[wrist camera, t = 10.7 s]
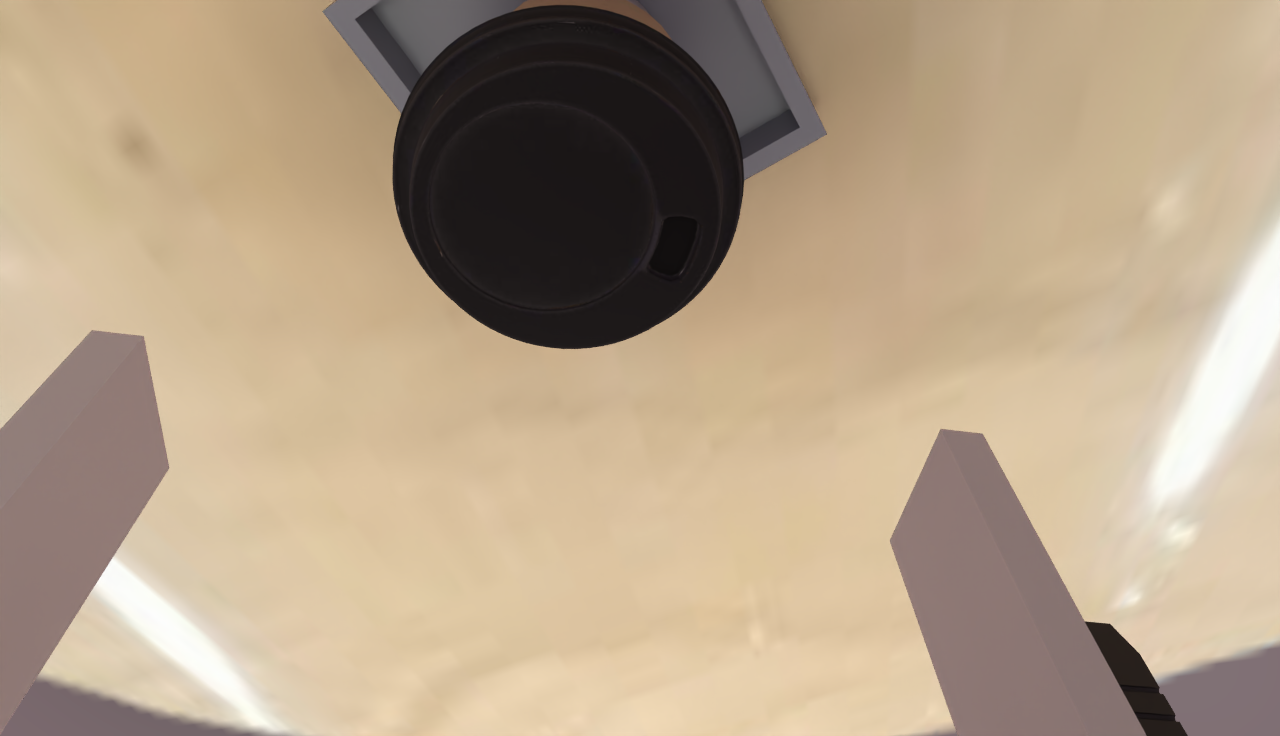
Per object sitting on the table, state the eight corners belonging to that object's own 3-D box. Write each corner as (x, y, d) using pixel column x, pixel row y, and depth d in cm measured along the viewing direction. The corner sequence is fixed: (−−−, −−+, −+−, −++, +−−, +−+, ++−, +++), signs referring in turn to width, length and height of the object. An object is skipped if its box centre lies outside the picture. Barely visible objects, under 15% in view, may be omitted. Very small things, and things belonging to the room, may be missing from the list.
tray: (647, -228, 30) (649, -227, 27) (812, 109, 37) (827, 134, 34) (344, -7, 34) (322, 11, 31) (544, 260, 40) (540, 293, 38)
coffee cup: (718, 148, 37) (771, 343, 24) (500, 188, 37) (444, 397, 25) (684, -102, 31) (728, -14, 19) (431, -48, 32) (315, 69, 20)
